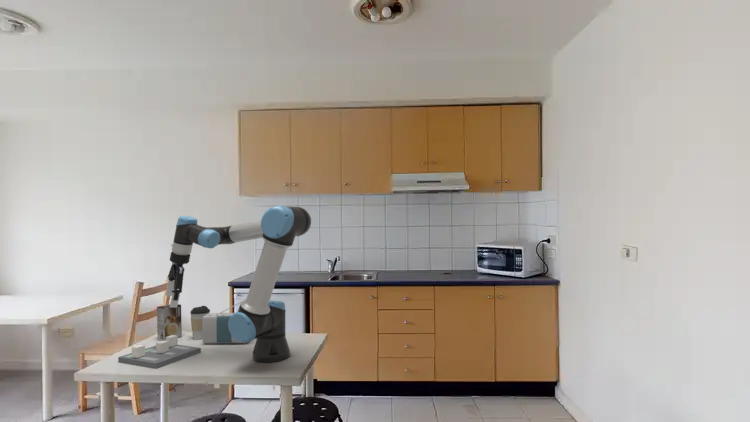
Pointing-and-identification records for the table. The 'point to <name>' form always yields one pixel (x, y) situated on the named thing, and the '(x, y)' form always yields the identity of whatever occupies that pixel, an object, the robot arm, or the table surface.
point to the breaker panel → (160, 356)
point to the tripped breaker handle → (162, 346)
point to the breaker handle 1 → (138, 351)
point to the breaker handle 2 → (172, 340)
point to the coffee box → (168, 322)
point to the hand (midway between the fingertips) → (170, 301)
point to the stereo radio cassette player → (217, 328)
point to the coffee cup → (198, 321)
